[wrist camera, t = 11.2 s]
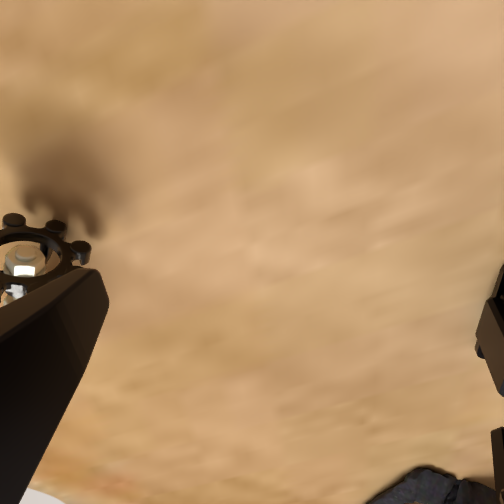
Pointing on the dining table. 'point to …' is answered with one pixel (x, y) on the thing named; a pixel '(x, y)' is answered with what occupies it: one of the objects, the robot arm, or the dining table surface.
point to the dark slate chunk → (436, 490)
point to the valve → (36, 255)
